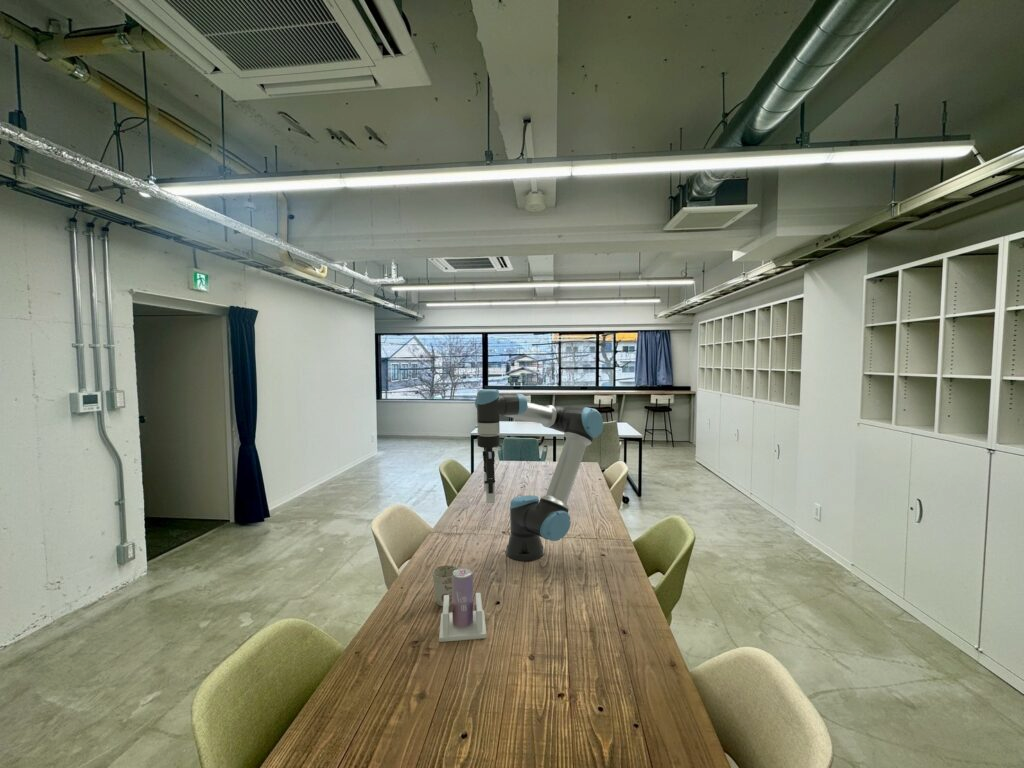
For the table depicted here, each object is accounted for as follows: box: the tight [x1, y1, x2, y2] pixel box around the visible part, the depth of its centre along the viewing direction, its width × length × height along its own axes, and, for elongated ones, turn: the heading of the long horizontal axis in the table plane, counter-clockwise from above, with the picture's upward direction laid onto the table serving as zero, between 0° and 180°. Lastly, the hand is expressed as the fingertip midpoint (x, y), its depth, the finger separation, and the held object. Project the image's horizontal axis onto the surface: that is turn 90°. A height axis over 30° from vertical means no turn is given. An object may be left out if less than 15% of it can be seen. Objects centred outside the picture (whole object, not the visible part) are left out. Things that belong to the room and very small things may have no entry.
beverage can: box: [451, 567, 474, 628], centre depth 123 cm, size 6×6×15 cm
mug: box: [432, 565, 459, 607], centre depth 139 cm, size 8×13×10 cm, turn 15°
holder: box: [438, 592, 487, 643], centre depth 123 cm, size 12×13×7 cm
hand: (489, 496), depth 145 cm, fingers open, 13 cm apart
